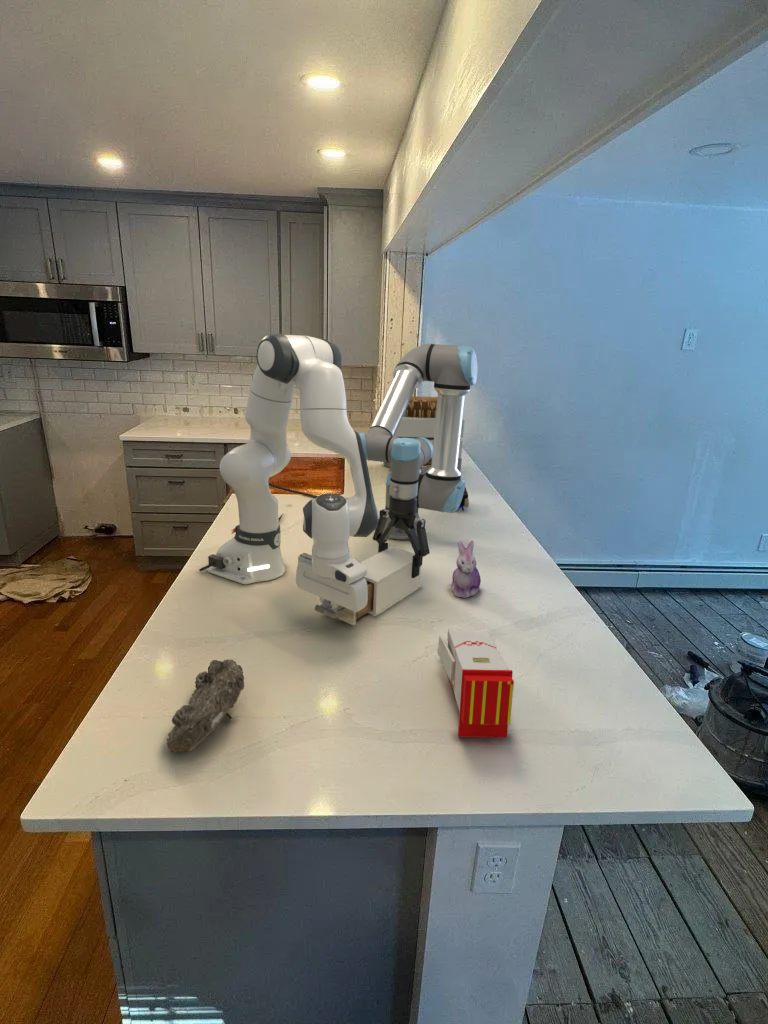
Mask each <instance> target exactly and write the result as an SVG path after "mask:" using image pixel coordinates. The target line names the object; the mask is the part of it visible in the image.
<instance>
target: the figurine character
mask: <svg viewBox="0 0 768 1024" xmlns="http://www.w3.org/2000/svg"><path fill="white" fill-rule="evenodd" d="M469 505H470V500H469V492H468V490H467V488H466V486H465V490H464V494H463V498H462V501H461V503H460V506H459V508H458V509H461V511H462V512H464V511H465V508H469ZM458 509H457V510H456V511H455V512H457V511H458Z"/></svg>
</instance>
